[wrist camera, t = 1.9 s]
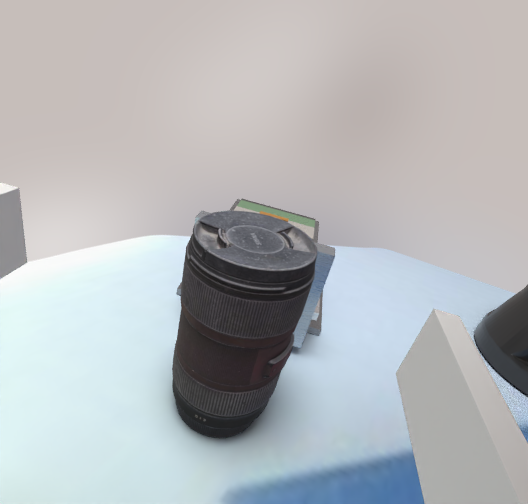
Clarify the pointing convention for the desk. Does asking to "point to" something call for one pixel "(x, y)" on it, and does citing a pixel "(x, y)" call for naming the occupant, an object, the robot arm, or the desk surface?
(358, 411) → the desk surface
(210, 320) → the camera lens
